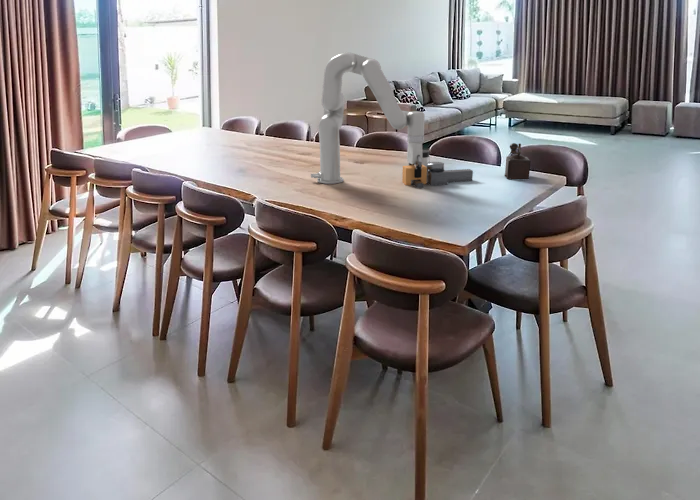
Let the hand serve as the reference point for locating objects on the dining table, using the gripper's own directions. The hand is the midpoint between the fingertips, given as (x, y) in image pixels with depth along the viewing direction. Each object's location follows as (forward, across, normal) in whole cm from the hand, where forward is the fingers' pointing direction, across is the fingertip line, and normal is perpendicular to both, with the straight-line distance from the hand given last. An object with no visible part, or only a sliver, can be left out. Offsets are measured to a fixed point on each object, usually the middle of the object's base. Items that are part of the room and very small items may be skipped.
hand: (414, 175), depth 296 cm
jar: (+4, -16, +8) cm, 19 cm away
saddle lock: (+4, 0, 0) cm, 4 cm away
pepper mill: (+4, +2, +51) cm, 51 cm away
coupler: (+4, 0, +13) cm, 14 cm away
